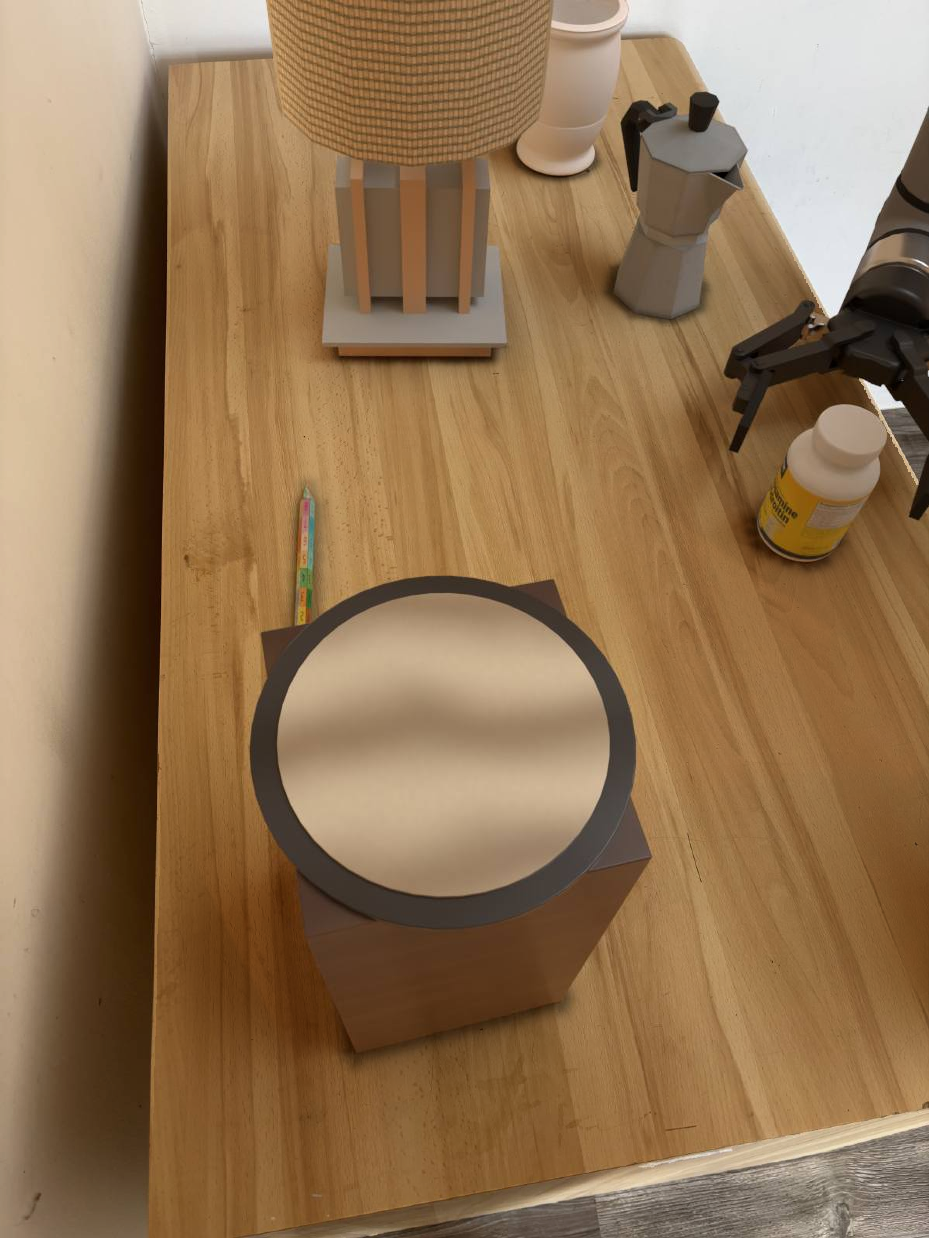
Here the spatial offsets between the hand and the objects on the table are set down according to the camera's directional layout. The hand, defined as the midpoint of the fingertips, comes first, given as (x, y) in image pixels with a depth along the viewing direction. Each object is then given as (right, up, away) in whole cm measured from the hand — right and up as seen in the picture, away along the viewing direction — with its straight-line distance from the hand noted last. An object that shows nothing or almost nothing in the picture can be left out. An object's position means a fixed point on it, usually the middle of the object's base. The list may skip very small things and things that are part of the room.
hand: (827, 472), depth 68 cm
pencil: (-38, -8, +2) cm, 39 cm away
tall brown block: (-28, -29, -11) cm, 42 cm away
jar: (-17, +39, +33) cm, 53 cm away
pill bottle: (0, -4, +6) cm, 7 cm away
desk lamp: (-31, +17, +18) cm, 40 cm away
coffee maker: (-9, +21, +22) cm, 32 cm away
